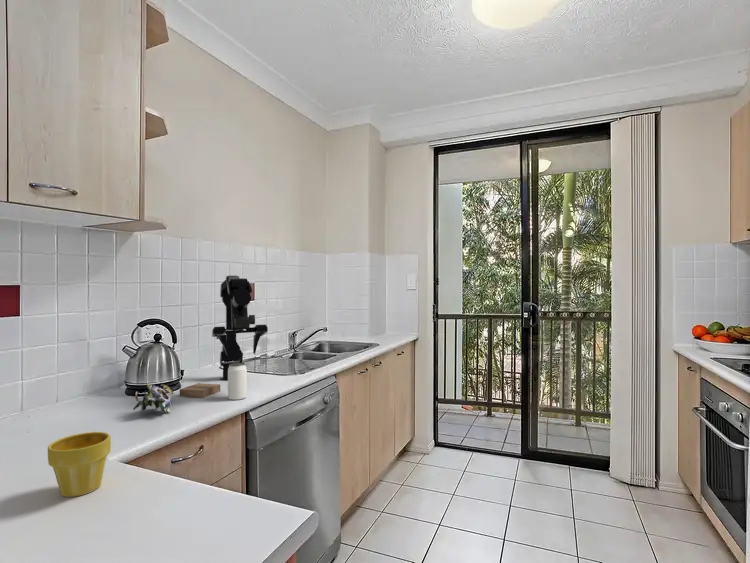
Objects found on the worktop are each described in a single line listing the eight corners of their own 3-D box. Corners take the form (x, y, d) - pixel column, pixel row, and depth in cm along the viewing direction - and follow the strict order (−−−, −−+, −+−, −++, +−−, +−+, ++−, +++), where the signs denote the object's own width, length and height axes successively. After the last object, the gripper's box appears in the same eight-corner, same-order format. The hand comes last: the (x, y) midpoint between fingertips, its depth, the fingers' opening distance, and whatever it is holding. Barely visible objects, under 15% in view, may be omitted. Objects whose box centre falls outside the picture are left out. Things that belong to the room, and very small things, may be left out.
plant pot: (40, 507, 79) (40, 453, 79) (56, 483, 88) (55, 435, 88) (106, 495, 83) (106, 445, 83) (114, 474, 92) (114, 428, 93)
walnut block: (197, 390, 166) (197, 383, 166) (220, 392, 164) (220, 384, 164) (179, 397, 157) (179, 389, 157) (203, 399, 154) (203, 390, 154)
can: (243, 400, 150) (243, 366, 150) (225, 400, 150) (224, 366, 150) (249, 395, 157) (249, 362, 157) (231, 395, 157) (231, 362, 157)
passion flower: (167, 430, 136) (174, 404, 131) (128, 429, 131) (134, 402, 126) (169, 402, 145) (176, 377, 140) (133, 400, 140) (139, 374, 135)
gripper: (213, 308, 147) (215, 354, 143) (269, 306, 154) (271, 350, 151) (211, 314, 156) (212, 357, 153) (263, 312, 164) (266, 353, 161)
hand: (241, 354), depth 154 cm, fingers open, 9 cm apart
